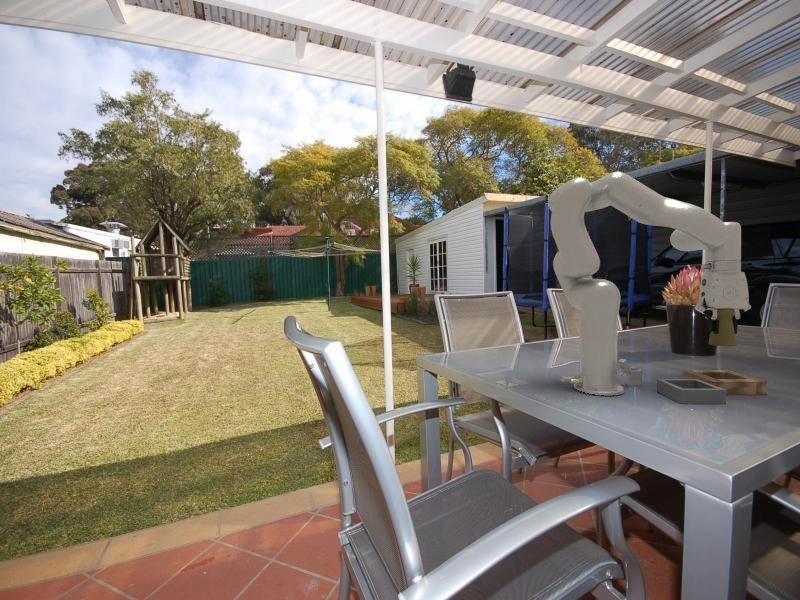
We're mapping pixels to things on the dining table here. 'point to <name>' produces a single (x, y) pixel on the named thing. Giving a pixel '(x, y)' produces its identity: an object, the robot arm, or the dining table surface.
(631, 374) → the lighter
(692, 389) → the grey square frame
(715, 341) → the cork
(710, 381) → the socket block
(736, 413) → the dining table surface
